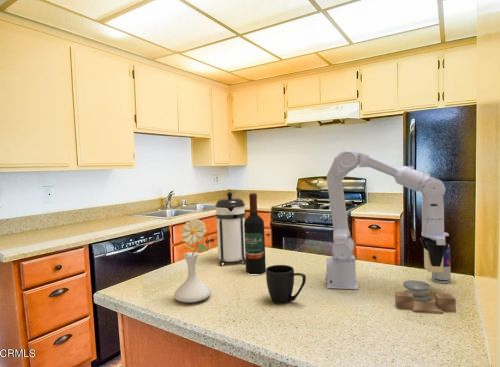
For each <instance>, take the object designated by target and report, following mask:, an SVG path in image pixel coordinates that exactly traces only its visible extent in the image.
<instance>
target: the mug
mask: <svg viewBox="0 0 500 367" xmlns="http://www.w3.org/2000/svg"><path fill="white" fill-rule="evenodd" d="M296 276H299V277H302V281H301V285H300V286H299V289H298V290H297V291H296V293H295V294H294V295H292V294H293V291H294V286H295V277H296ZM265 279H266V280H265V281H266V286H267V289H268V293H269V297H270V300H271V303H273V304H276V305H287V304H289V303H290V302H294V301H295V300H296V299H297V298H298V296H299V295H300V293H301V291H302V290H303V288H304V286H305V284H306V283H307V282H306V280H307V276H306V274H305V273H303V272H302V273H300V272H295V268H294V267H292V266H290V265H287V264H286V265H285V264H275V265H274V264H273V265H270V266H267V267H266V273H265Z"/></svg>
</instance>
